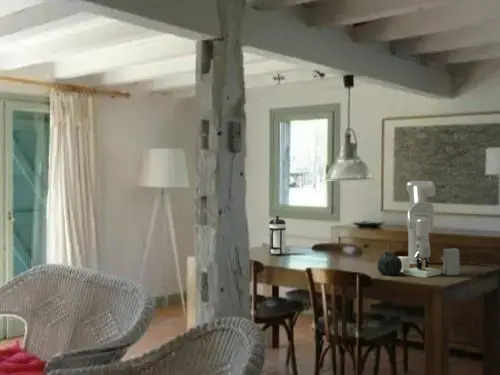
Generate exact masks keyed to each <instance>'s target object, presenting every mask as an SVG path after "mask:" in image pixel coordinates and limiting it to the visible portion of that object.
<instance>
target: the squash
mask: <svg viewBox="0 0 500 375" xmlns="http://www.w3.org/2000/svg"><path fill="white" fill-rule="evenodd" d="M398 257H399V256H396V254H394V253H391V252H389V251H384V252H383V253H382V255H381V256H380V258H379V259H378V261H377V270H378V272H379V273H380V274H381V275H384V276H395V275H396V274H397V275H398V274H399V273H400V271H401V269H402V262H401V260H400V259H399V258H398Z"/></svg>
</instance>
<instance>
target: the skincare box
mask: <svg viewBox="0 0 500 375" xmlns="http://www.w3.org/2000/svg"><path fill="white" fill-rule="evenodd" d="M442 252H443V253H442V256H443V260H442V261H443V264H442V265H443V266H442V268H443V274H444V275H446V276H457V275H458V276H459V275H460V249H458V248H454V247H453V248H443V249H442Z"/></svg>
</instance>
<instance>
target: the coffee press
mask: <svg viewBox="0 0 500 375" xmlns="http://www.w3.org/2000/svg"><path fill="white" fill-rule="evenodd" d="M268 224H269V252H268V254H269V253H270V254H271V253H272V254H271V255H279V256H280V255H282V256H283V254H284V253H285V254H286V253H287V251H286V229H287V228H286V224H287V222H286V221H285V220H284V219H280V217H279V215H276V217H275V218H274V219H271V220H270V221H269V223H268Z"/></svg>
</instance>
